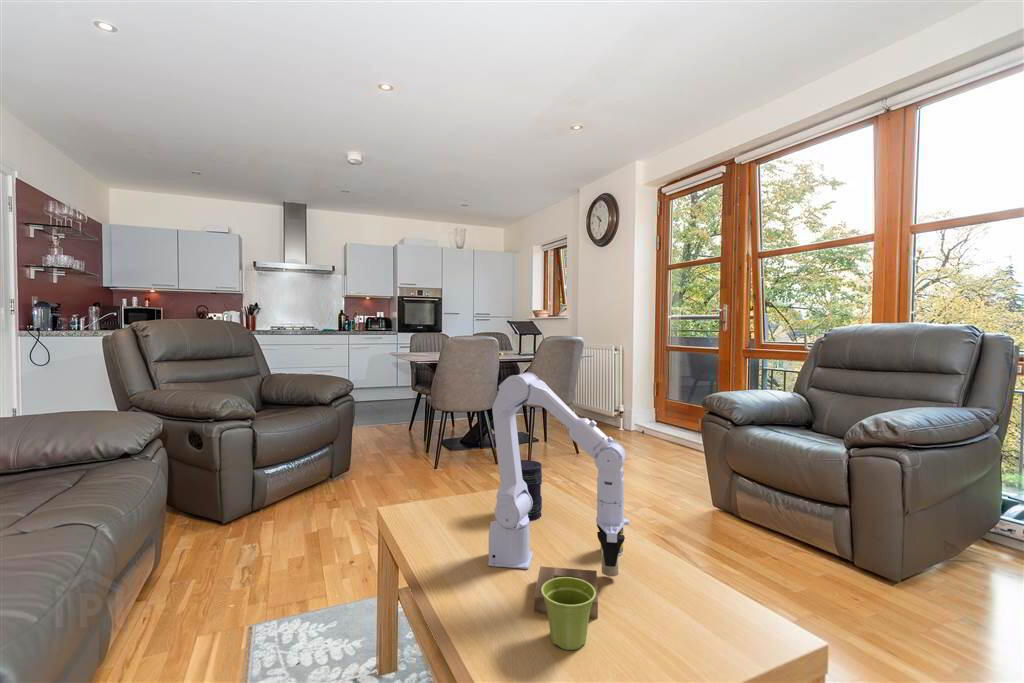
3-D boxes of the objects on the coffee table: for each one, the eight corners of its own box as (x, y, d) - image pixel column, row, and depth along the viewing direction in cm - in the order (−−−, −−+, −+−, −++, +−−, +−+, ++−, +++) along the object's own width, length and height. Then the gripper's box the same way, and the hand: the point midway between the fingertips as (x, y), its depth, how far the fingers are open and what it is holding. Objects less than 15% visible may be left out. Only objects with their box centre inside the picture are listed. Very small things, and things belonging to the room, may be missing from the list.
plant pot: (537, 624, 87) (537, 577, 87) (588, 621, 88) (588, 575, 88) (545, 659, 78) (545, 606, 78) (601, 655, 78) (602, 604, 78)
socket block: (534, 612, 91) (534, 596, 91) (540, 580, 103) (540, 566, 102) (597, 618, 89) (597, 602, 89) (596, 584, 101) (596, 570, 101)
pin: (601, 575, 102) (602, 538, 102) (601, 567, 105) (601, 531, 105) (618, 577, 101) (619, 539, 101) (617, 568, 105) (618, 532, 104)
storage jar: (505, 520, 135) (505, 468, 135) (510, 508, 145) (510, 459, 145) (540, 522, 134) (540, 470, 134) (543, 509, 144) (543, 460, 143)
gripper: (632, 512, 95) (632, 579, 95) (626, 489, 109) (626, 547, 110) (596, 510, 96) (596, 576, 96) (595, 487, 110) (595, 545, 111)
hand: (610, 561), depth 103 cm, fingers closed on pin, 4 cm apart
